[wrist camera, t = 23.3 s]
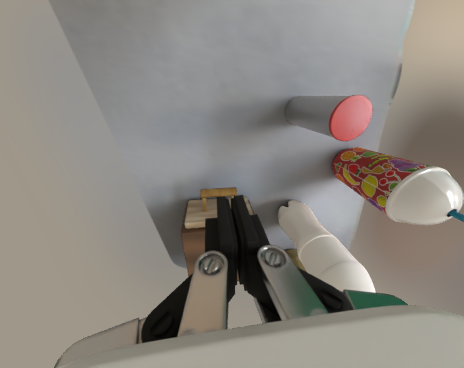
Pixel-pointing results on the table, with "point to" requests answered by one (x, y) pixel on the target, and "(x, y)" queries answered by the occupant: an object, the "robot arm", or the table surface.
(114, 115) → the table surface
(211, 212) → the drawer
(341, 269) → the water bottle
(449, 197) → the smoothie
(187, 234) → the cabinet
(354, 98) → the spice tin
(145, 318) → the robot arm
